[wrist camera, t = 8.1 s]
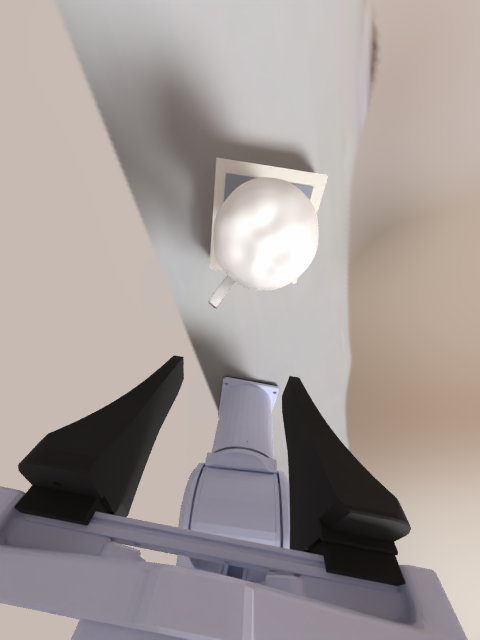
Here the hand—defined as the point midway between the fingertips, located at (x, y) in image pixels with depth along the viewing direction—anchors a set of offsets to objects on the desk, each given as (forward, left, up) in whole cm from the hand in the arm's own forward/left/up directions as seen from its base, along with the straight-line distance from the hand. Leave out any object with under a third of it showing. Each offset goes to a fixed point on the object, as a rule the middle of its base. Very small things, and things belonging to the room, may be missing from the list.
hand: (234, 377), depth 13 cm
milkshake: (+8, 0, -8) cm, 12 cm away
